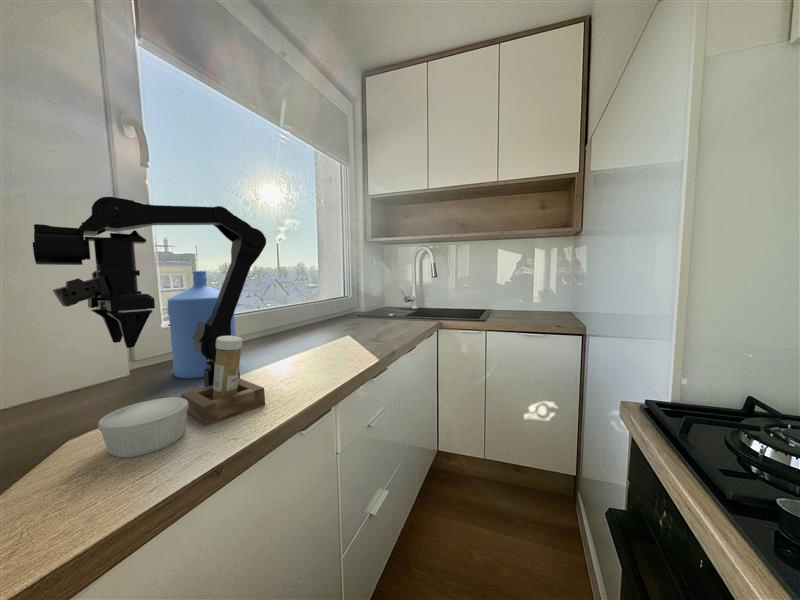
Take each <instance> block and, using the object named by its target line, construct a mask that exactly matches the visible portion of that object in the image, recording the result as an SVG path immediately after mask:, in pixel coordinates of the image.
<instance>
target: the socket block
mask: <svg viewBox="0 0 800 600" xmlns="http://www.w3.org/2000/svg"><path fill="white" fill-rule="evenodd" d="M265 394H266V393H265V387H263V386H260V385H258V384H255V383H253V382H250V381H248V380H245V379H243V378H241V377H240V378H239V379H238V387H237V393H234V394H231V395H228V396H225V397H221V398H218V399H215V400H213V385H211V386H207V387H205V386H204V387H201V388H197V389H193V390H190V391H186V392H183V393H181V398H183V399H186V400H187V401H188V404H189V407H188V410H187V415H188V414H189V415H190V416H189V415H188V416H189V417H191V416H192V417H193V419H194V420H195V419H196V420H195V421H197V422H198V421H199V422H198V423H199V424H201V425H202V424H203V426H204V427H208V426H210V425H213V424H216V423H218V422H221V421H225V420H226V419H229V418H232V417H236V416H238V415H240V414H244V413H246V412H249V411H253V410H254V409H256V408H260V407H263V406H265V405H266V396H265ZM192 417H191V418H192Z"/></svg>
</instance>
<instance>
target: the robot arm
mask: <svg viewBox="0 0 800 600" xmlns="http://www.w3.org/2000/svg"><path fill="white" fill-rule="evenodd" d="M197 225H198V226H214V227H215V228H217V230H218V231H219V232H220V233H221V234H223V236H224V237H225V238H226V239H227V240H229V241H230V242H231V249H230V255H231V256H230V257H231V258H230V261H231V262H230V264H229V267H228V270H227V272H226V275H225V278H224V280H223V282H222V286H221V287H220V290H219V291H220V293H219V296H218V298H217V301H216V304H215V306H214V309H213V312H212V314H211V316H210V318H209V319H208V320H207V322H206V323H202V322H198V325H197V330H196V333H195V335H194V336H193V337H192V339H194V347H195V349H196V351H197V352H199V353H200V354H202V355H204V356H205V358H206V359H207V360H209V361H210V362H207V363H206V369H205V370H204V378H203V379H204V385H203V386H204V387H207V386H211V385H213V381H214V368H215V361H216V339H217V338H218V337H220V336H231V320H232V317H233V314H234V315H235V312H236V308H237V305H238V304H239V300H240V297H241V294H242V292H243V289H244V286H245V283H246V282H247V278H248V276H249V272H250V269H251V267H252V266H253V264H254V263H255V262H256V261H257V260H258V258H259V257H260V256H261V253H262V252H263V250H264V249H265V247H266V245H267V244H266V243H267V238H266V236H265V234H264V233H263V232H262V231H261V230H260V229H258V228H255V227H253V226H252V225H250V224H249V223H248V222H247V221H245V220H243V219H241V218H239V217H238V216H236V215H234V214H233V212H231V211H230V210H228V209H227V208H226V207H225V206H221V205H217V206H197V205H196V206H193V205H192V206H191V205H190V206H189V205H163V204H162V205H157V204H150V203H149V204H148V203H144V202H140V201H137V200H133V199H126V198H121V197H117V196H116V197H114V196H102V197H100V198H98V199H97V200H96V201H94V202H93V204H92V206H91V214H90V216H89V217H88V218H87V219H86V220H85V221H83V222H81V225H79V227H67V226H64V227H63V226H51V225H47V224H42V223H41V224H38V223H35V224H34V225H33V229H34V230H33V231H34V232H33V239H34V240H33V241H32V249H33V257H34V263H35V265H40V266H41V265H46V266H47V265H49V266H50V265H51V266H52V265H53V266H55V265H57V266H59V265H61V266H83V261H86V260H87V261H88V260H90V261H91V252H90V242H93V244H94V246H93V247H94V254H95V255H94V256H95V265H96V266H95V267H96V269H95V270H94V271H93V272H91V276H92V277H91V278H90V279H88V280H82V279H80V278H75V279H72V280H68V281H66V282H65V286H62V287H58V288H55V289H52V291H53V293H54V295H55V297H56V298H57V300H58V302H59V303H60V304H61V305H62V307H71V306H73V305H74V306H75V305H76V304H78V303H80V302H82V301H87V307H88V309H90V311H91V312H93V313H94V314H96V315H98V316H100V317H101V318H102V320H103V321H104V324H105V326H106V329H107V331H108V333H109V337H110V338H111V341H112V342H113V344H114V343H120V342H121V341H122V340H123V342H124V345H125V348H127V349H129V348H134V347H135V346H136V343H137V342H138V340H139V338H140V335H141V333H142V330H143V329H144V326H145V325H146V323H147V321H148V318H149V317H150V315H151V314H152V313H153V309H155V308H156V306H155V298H154V297H153V296H152V295H150V294H149V293H142V291H140V290H139V288H138V287H139V286H138V277H140V276H141V270H137V264H136V251H135V244H136V245H137V244H142V245H143V244H146V242H147V239H146V238H145V237H143V236H142V235H140V234H139V233H138V231H137V230H136V229H141V228H146V227H147V228H148V227H153V226H197ZM130 230H132V231H131V233H118V232H123V231H124V232H125V231H130ZM105 232H110V233H109V237H104V236H103V237H101V236H98V235H101V234H103V233H105ZM122 338H123V339H122ZM241 355H242V352H240V356H241ZM240 372H241V371H240V370H239V378H240V379H241V375H240V374H241V373H240Z"/></svg>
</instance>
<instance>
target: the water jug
mask: <svg viewBox="0 0 800 600" xmlns="http://www.w3.org/2000/svg"><path fill="white" fill-rule="evenodd" d="M192 273H193V277H192V279H193V286H192V287H190V288H188V289H187V290H184V291H182V292H180V293H178V294H176V295H173V296H172V297H169V298H168V299H167V315H168V317H169V318H168V319H169V321H168V322H169V328H170V330H169V331H170V341H171V342H170V343H171V351H172V354H171V355H172V361H173V362H172V363H173V364H172V365H173V367H172V370H173V375H174V376H175V377H177V378H179V379H187V380H189V379H204V370H205V369H206V363H207V362H210V361H209V360H207V359H206V358H205V356H204V355H202V354H200V353H199V352H197V351H196V349H195V347H194V339H192V337H193V336H194V335H195V333H196V330H197V325H198V322H202V323H206V322H207V320H208V319H209V318H210V316H211V314H212V312H213V309H214V306H215V304H216V301H217V298H218V296H219V293H220V290H219V289H216V288H214V287H211V286H209V285H208V280H207V279H208V277H207V271H206V270H205V271H204V270H202V271H199V270H198V271H192ZM231 336H237V329H236V321H235V313H234V314H233V317H232V320H231Z"/></svg>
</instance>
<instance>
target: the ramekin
mask: <svg viewBox="0 0 800 600" xmlns="http://www.w3.org/2000/svg"><path fill="white" fill-rule="evenodd" d="M188 407H189V404H188V401H187V400H186V399H183V398H182V397H173V396H172V397H163V398H155V399H151V400H146V401H142V402H138V403H134V404H131V405H128V406H127V405H126V406H125V407H122V408H119V409H117V410H114V411H112V412H110V413H108V414H106V415H105V416H103V417H101V419H100V420H99V421H98V423H97V427H98V428H97V429H98V431H99V432H100V433H101V435H102V438H103V440H104V443H105V447H106V450H107V451H108V453H110V455H112V456H114V457H118V458H133V457H139V456H143V455H148V454H150V453H153V452H157V451H160V450H162V449H165V448H166V447H169V446H170V445H172V444H173V443H174V444H175V442H177V441H178V440H179V439H180V438H181V437H182V435H183V434H184V433H185V430H186V428H187V417H188V414H187V410H188Z"/></svg>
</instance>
